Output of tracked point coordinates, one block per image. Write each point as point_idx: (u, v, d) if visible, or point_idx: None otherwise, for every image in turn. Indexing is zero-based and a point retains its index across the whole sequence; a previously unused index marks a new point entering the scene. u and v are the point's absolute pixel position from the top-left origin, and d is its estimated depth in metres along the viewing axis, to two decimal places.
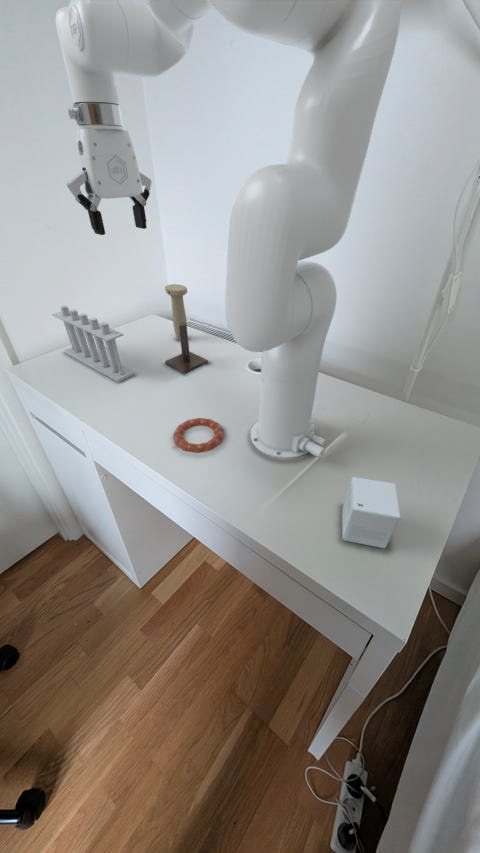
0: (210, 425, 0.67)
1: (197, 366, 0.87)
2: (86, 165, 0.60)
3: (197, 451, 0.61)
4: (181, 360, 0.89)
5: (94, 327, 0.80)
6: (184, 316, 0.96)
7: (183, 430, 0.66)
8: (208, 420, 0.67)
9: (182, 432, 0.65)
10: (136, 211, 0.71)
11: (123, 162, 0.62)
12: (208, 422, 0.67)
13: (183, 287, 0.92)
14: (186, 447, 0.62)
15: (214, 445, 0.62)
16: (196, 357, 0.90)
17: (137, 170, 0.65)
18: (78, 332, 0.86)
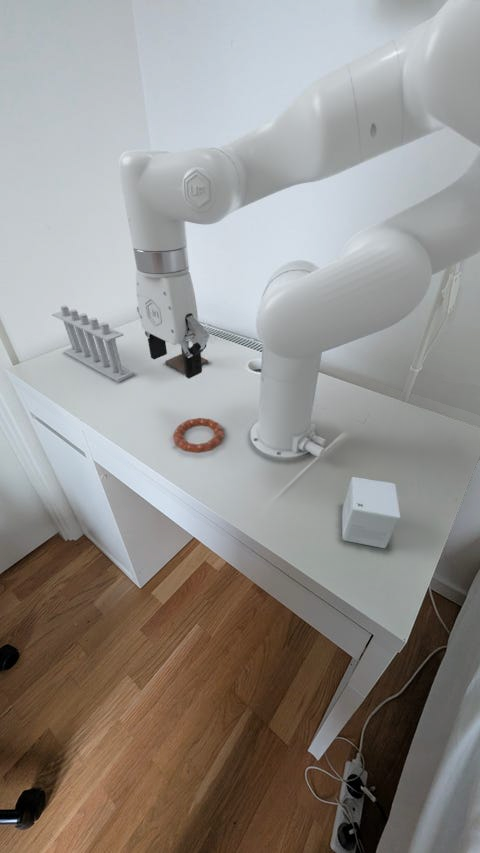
0: (210, 425, 0.67)
1: None
2: None
3: (197, 451, 0.61)
4: (181, 360, 0.89)
5: (94, 327, 0.80)
6: None
7: (183, 430, 0.66)
8: (208, 420, 0.67)
9: (182, 432, 0.65)
10: None
11: (158, 308, 0.50)
12: (208, 422, 0.67)
13: None
14: (186, 447, 0.62)
15: (214, 445, 0.62)
16: None
17: (172, 321, 0.50)
18: (78, 332, 0.86)
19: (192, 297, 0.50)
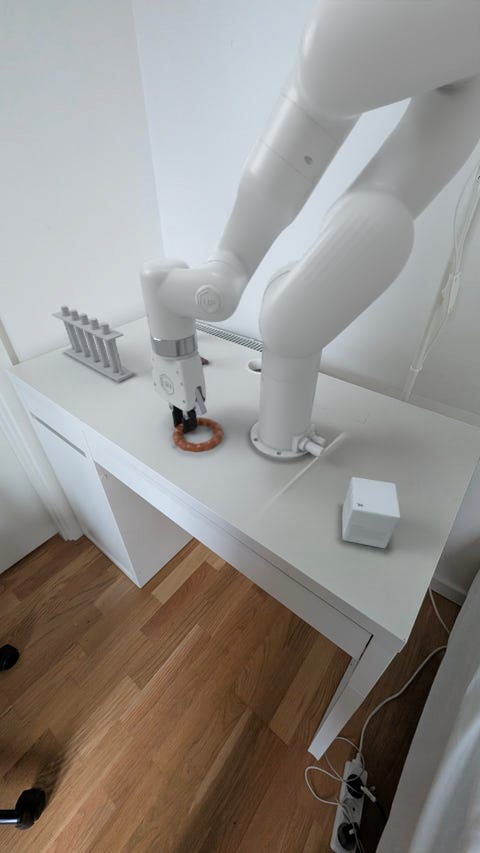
0: (209, 425, 0.67)
1: None
2: None
3: (196, 450, 0.61)
4: None
5: (94, 327, 0.80)
6: None
7: (182, 430, 0.66)
8: (207, 420, 0.68)
9: (181, 432, 0.65)
10: None
11: (171, 382, 0.57)
12: (208, 422, 0.67)
13: None
14: (185, 446, 0.62)
15: (213, 444, 0.63)
16: None
17: (184, 394, 0.57)
18: (78, 332, 0.86)
19: (201, 372, 0.57)
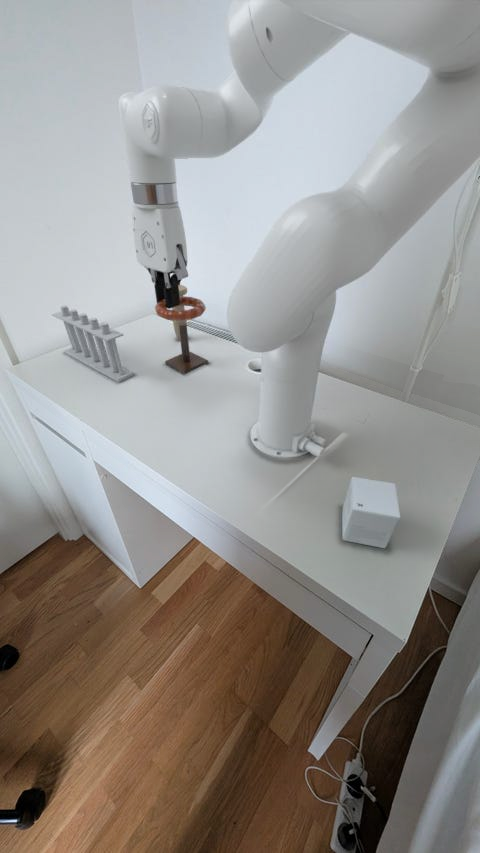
0: (192, 301, 0.68)
1: (197, 366, 0.87)
2: None
3: (178, 316, 0.63)
4: (181, 360, 0.89)
5: (94, 327, 0.80)
6: None
7: (165, 304, 0.67)
8: (190, 297, 0.69)
9: (164, 305, 0.66)
10: None
11: (152, 238, 0.58)
12: (190, 299, 0.68)
13: (183, 287, 0.92)
14: (167, 313, 0.63)
15: (195, 312, 0.64)
16: (196, 357, 0.90)
17: (165, 249, 0.58)
18: (78, 332, 0.86)
19: (181, 229, 0.58)
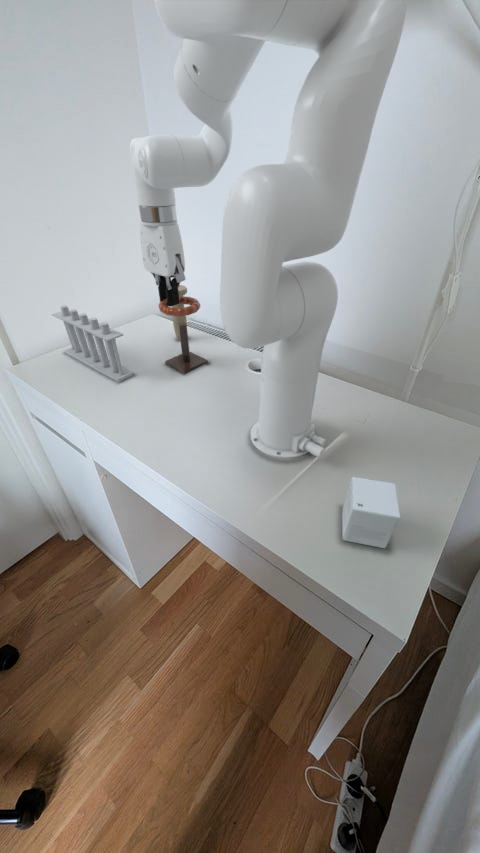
0: (189, 300, 0.81)
1: (197, 366, 0.87)
2: None
3: (177, 312, 0.76)
4: (181, 360, 0.89)
5: (94, 327, 0.80)
6: (184, 316, 0.96)
7: None
8: (187, 297, 0.82)
9: (166, 303, 0.80)
10: None
11: (156, 249, 0.72)
12: (188, 298, 0.82)
13: (183, 287, 0.92)
14: (168, 309, 0.76)
15: (191, 309, 0.77)
16: (196, 357, 0.90)
17: (166, 258, 0.71)
18: (78, 332, 0.86)
19: (180, 241, 0.72)
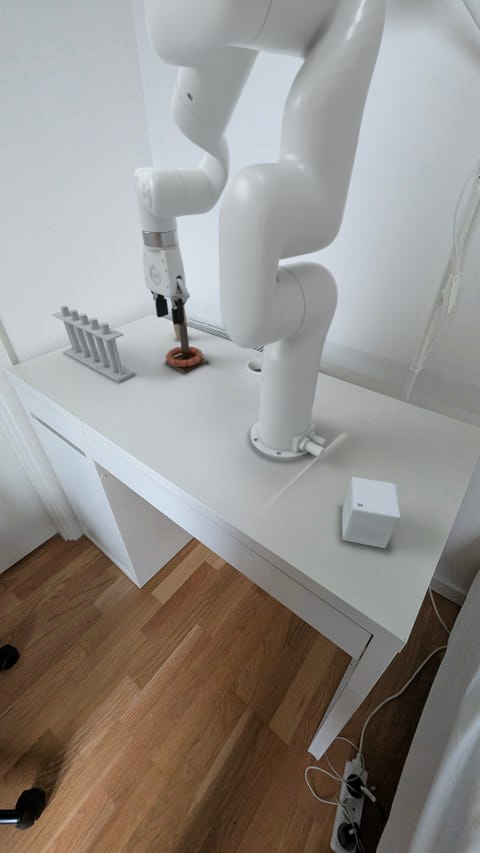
0: (193, 350, 0.90)
1: (197, 366, 0.87)
2: None
3: (183, 364, 0.85)
4: None
5: (94, 327, 0.80)
6: (184, 316, 0.96)
7: (173, 353, 0.89)
8: (191, 347, 0.91)
9: (172, 354, 0.89)
10: None
11: (158, 271, 0.75)
12: (192, 349, 0.91)
13: None
14: (175, 362, 0.85)
15: (195, 361, 0.86)
16: None
17: (168, 280, 0.74)
18: (78, 332, 0.86)
19: (181, 264, 0.75)
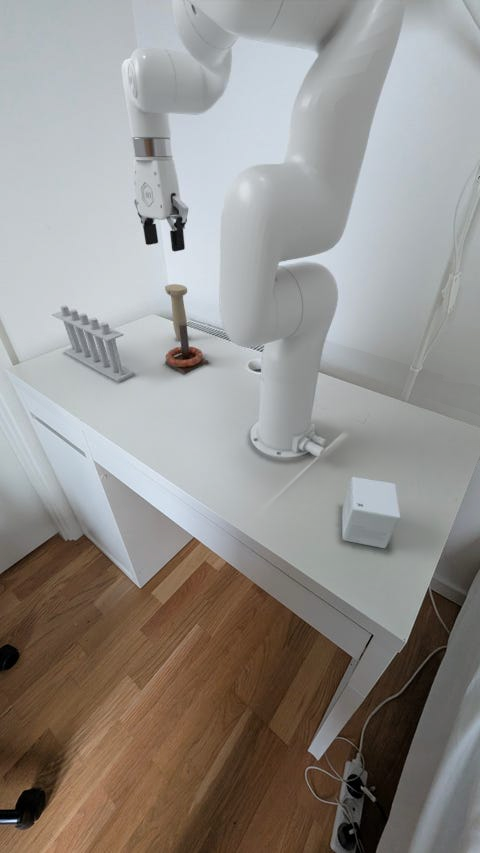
0: (193, 350, 0.90)
1: (197, 366, 0.87)
2: None
3: (183, 364, 0.85)
4: None
5: (94, 327, 0.80)
6: (184, 316, 0.96)
7: (173, 353, 0.89)
8: (191, 347, 0.91)
9: (172, 354, 0.89)
10: None
11: (150, 188, 0.68)
12: (192, 349, 0.91)
13: (183, 287, 0.92)
14: (175, 362, 0.85)
15: (195, 361, 0.86)
16: None
17: (161, 197, 0.67)
18: (78, 332, 0.86)
19: (175, 180, 0.68)
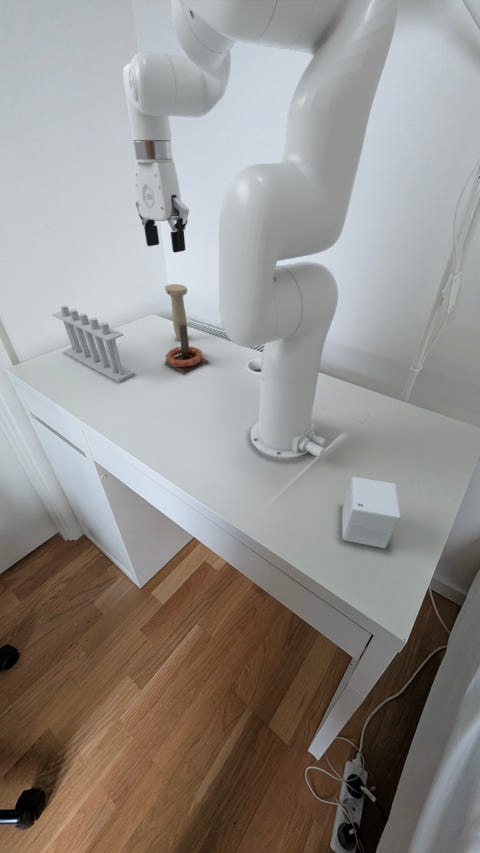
0: (193, 350, 0.90)
1: (197, 366, 0.87)
2: None
3: (183, 364, 0.85)
4: None
5: (94, 327, 0.80)
6: (184, 316, 0.96)
7: (173, 353, 0.89)
8: (191, 347, 0.91)
9: (172, 354, 0.89)
10: None
11: (151, 190, 0.69)
12: (192, 349, 0.91)
13: (183, 287, 0.92)
14: (175, 362, 0.85)
15: (195, 361, 0.86)
16: None
17: (162, 198, 0.68)
18: (78, 332, 0.86)
19: (176, 182, 0.69)
